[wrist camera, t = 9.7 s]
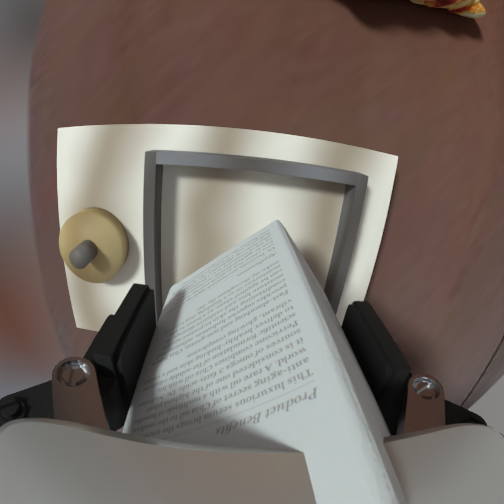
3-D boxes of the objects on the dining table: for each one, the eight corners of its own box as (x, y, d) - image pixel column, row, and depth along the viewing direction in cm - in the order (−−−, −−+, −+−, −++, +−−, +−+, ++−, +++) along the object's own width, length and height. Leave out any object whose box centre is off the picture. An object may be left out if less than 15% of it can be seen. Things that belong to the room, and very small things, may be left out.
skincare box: (223, 344, 15) (213, 581, 4) (169, 284, 14) (83, 551, 3) (326, 286, 14) (433, 537, 3) (280, 213, 13) (408, 538, 2)
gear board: (383, 153, 17) (421, 162, 13) (338, 336, 22) (355, 376, 18) (73, 127, 16) (32, 130, 11) (87, 312, 21) (62, 348, 17)
